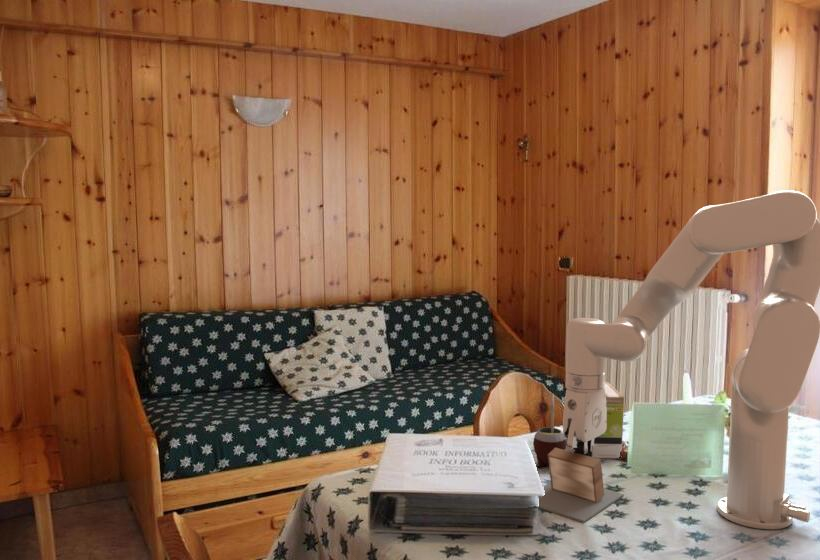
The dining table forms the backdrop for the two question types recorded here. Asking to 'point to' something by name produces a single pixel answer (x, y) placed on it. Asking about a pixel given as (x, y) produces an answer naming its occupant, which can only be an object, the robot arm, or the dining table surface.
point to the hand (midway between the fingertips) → (582, 469)
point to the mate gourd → (548, 441)
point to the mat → (575, 504)
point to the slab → (576, 474)
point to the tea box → (611, 426)
